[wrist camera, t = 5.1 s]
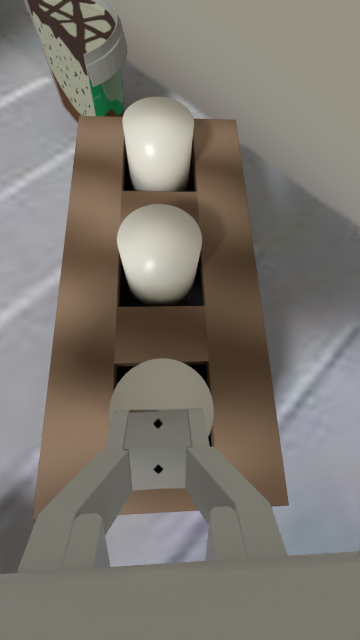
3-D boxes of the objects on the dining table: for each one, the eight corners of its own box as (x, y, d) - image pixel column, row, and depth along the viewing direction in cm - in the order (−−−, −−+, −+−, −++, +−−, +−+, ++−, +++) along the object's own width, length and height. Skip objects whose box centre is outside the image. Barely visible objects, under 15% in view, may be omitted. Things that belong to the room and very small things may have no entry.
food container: (156, 143, 33) (152, 34, 24) (110, 165, 32) (87, 58, 22) (101, 83, 36) (78, -37, 27) (57, 100, 35) (16, -19, 25)
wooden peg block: (241, 472, 22) (288, 505, 14) (85, 479, 21) (32, 519, 13) (216, 202, 31) (235, 119, 22) (103, 201, 30) (79, 115, 21)
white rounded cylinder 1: (189, 207, 22) (195, 148, 17) (130, 206, 21) (121, 147, 17) (186, 163, 23) (192, 97, 18) (132, 162, 23) (123, 95, 18)
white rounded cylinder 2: (194, 311, 19) (204, 275, 14) (127, 312, 19) (115, 276, 14) (191, 254, 20) (199, 204, 16) (129, 254, 20) (118, 203, 15)
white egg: (202, 451, 16) (217, 465, 11) (123, 455, 16) (106, 471, 11) (197, 373, 18) (210, 357, 13) (126, 375, 17) (111, 359, 13)
